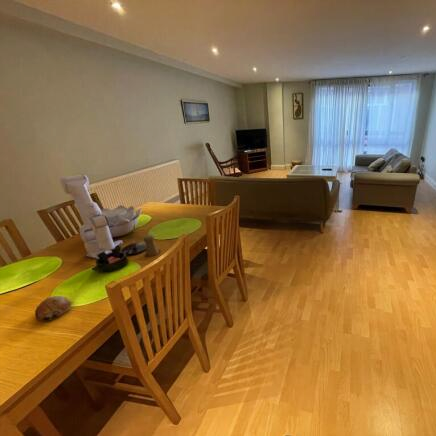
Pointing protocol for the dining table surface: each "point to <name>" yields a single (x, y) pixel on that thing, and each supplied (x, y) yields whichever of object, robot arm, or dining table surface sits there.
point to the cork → (150, 245)
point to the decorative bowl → (121, 220)
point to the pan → (111, 266)
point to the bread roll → (52, 308)
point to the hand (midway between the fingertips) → (112, 262)
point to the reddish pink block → (113, 259)
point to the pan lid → (134, 248)
